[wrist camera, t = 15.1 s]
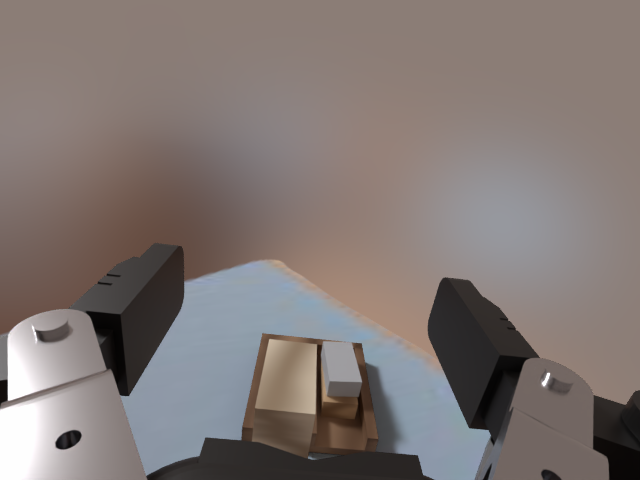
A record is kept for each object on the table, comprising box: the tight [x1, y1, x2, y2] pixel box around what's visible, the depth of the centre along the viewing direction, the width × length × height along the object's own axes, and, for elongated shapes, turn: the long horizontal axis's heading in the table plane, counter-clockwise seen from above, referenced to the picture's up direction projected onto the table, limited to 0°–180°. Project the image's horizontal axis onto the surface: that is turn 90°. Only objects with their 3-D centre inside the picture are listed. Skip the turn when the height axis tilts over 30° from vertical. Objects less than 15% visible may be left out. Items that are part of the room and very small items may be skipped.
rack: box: [241, 333, 378, 455], centre depth 47 cm, size 15×16×3 cm
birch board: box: [252, 339, 317, 459], centre depth 30 cm, size 4×7×18 cm, turn 0°
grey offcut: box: [321, 341, 362, 397], centre depth 47 cm, size 4×7×2 cm, turn 6°
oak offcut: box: [320, 360, 358, 419], centre depth 47 cm, size 4×8×2 cm, turn 1°
